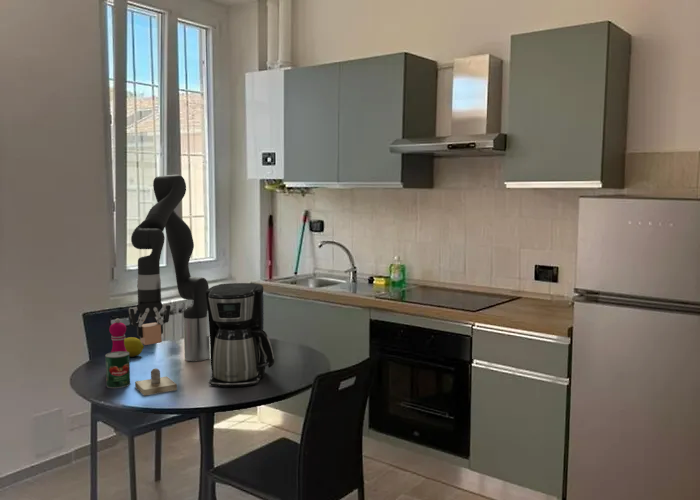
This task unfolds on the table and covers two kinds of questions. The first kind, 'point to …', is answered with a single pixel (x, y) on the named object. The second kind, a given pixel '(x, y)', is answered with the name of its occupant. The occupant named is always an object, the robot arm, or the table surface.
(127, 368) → the canned tomato
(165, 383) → the post base
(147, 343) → the cardboard cube
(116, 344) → the pepper mill
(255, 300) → the coffee maker
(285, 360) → the table surface
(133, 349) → the lemon
